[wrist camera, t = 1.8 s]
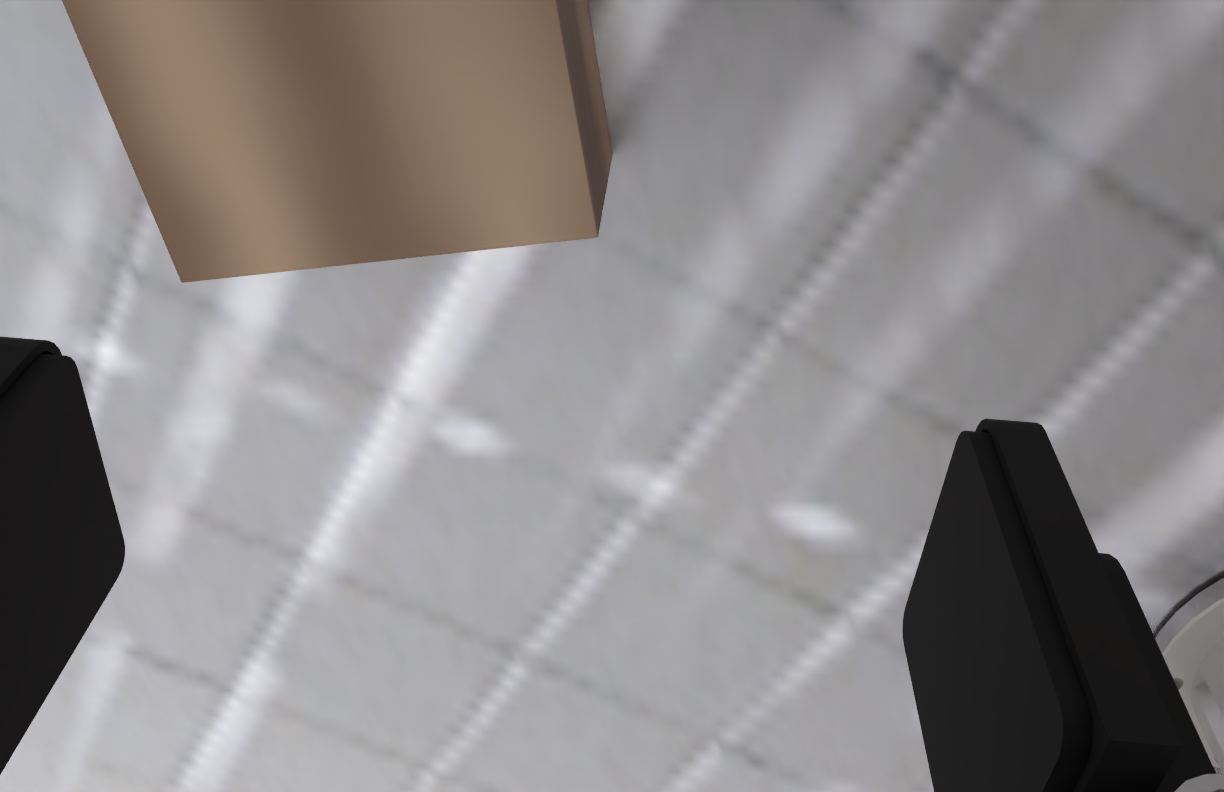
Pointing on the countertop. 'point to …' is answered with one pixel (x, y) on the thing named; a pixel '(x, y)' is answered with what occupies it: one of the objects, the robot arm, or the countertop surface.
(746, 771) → the countertop surface
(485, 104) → the walnut block
